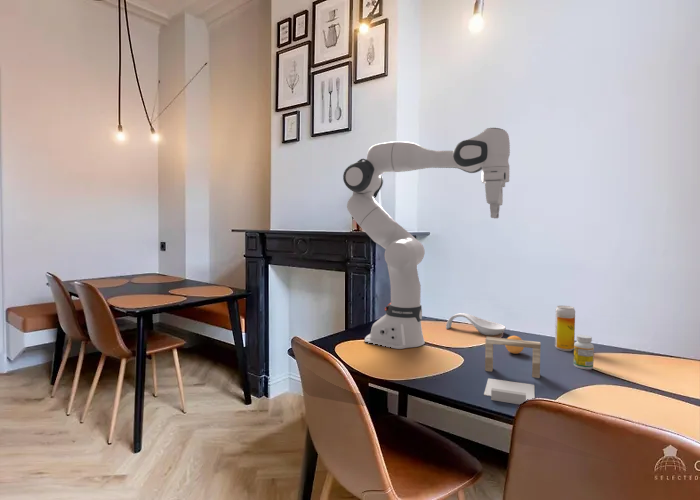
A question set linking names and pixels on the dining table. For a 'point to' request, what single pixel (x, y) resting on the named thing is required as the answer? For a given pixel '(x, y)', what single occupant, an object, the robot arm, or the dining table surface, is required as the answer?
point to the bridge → (512, 342)
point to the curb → (508, 396)
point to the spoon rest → (479, 324)
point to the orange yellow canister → (565, 328)
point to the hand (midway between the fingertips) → (494, 218)
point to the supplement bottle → (583, 352)
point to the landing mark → (510, 387)
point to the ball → (514, 348)
